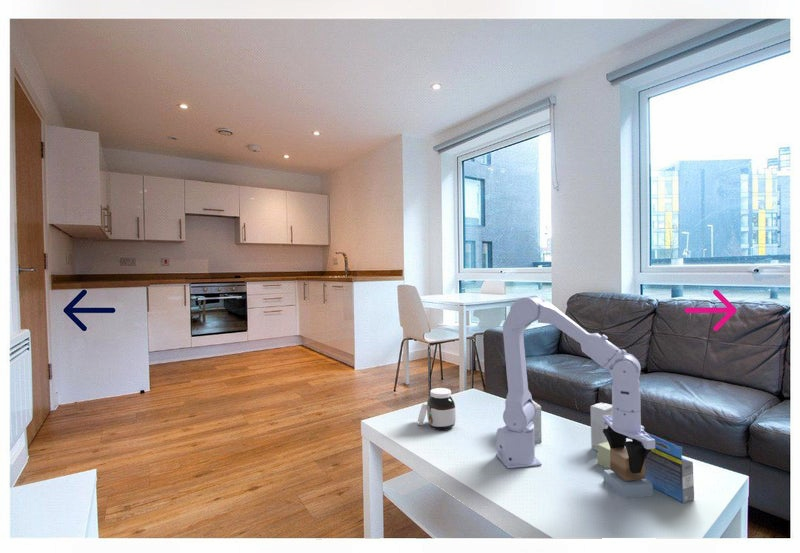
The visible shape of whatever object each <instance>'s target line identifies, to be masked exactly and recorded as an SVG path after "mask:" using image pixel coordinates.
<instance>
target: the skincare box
mask: <svg viewBox="0 0 800 553" xmlns="http://www.w3.org/2000/svg"><path fill="white" fill-rule="evenodd" d="M606 415H609V416H611V417H612V404H609V403H605V402H599V403H595V404H593V405H590V441H591V442H590V444H591V446H590V447H591V449H593V450H595V451H597V452H598V446H597V444H600V443H604V442H608V440H607V438H606V436H605V435H604V433H603V429H607V427H608V425H604V424H602V416H606Z"/></svg>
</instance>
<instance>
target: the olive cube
mask: <svg viewBox="0 0 800 553" xmlns="http://www.w3.org/2000/svg"><path fill="white" fill-rule="evenodd" d="M597 446H598V451H597V463H598V464H600V466H602V467H605V468H607V469H608V470H610V445H609V443H608V442H604V443H600V444H597Z"/></svg>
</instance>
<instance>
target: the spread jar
mask: <svg viewBox="0 0 800 553" xmlns="http://www.w3.org/2000/svg"><path fill="white" fill-rule="evenodd" d="M426 402H427V403H422V405H421V407H420V411H419V414H418V418H417V423H418V422H419V423H418V424H417V425H418V426H421V425H422V426H423V425H424V422H425V418H426V415H427V422H428V424H429V426H430V427H431V428H432V427H433V428H435V429H434V430H436V429H439V430H438V431H446V430H445V429H447V430H450V429H451V428H453V427H454V426H455V424H456V422H457V421H456V420H457V417H456V416H457V415H456V412H457V411H456V404H455V401H454V399H453V397H452V391H451V389H450V388H447V387H445V388H444V387H436V388H432V389H430V396H429V397H428V399H427V401H426ZM433 428H432V429H433Z"/></svg>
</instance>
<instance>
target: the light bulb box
mask: <svg viewBox="0 0 800 553" xmlns="http://www.w3.org/2000/svg"><path fill="white" fill-rule="evenodd" d="M532 401H533V403H534V404H535V406H536V415H535V417H534V418H533V419H532V421H533V424H534V441H535V444H537V443H538V444H540V443H542V439H543V438H542V406H541V405H540V404H538V403H537V402H535V401H534V400H533V399H532Z"/></svg>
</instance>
